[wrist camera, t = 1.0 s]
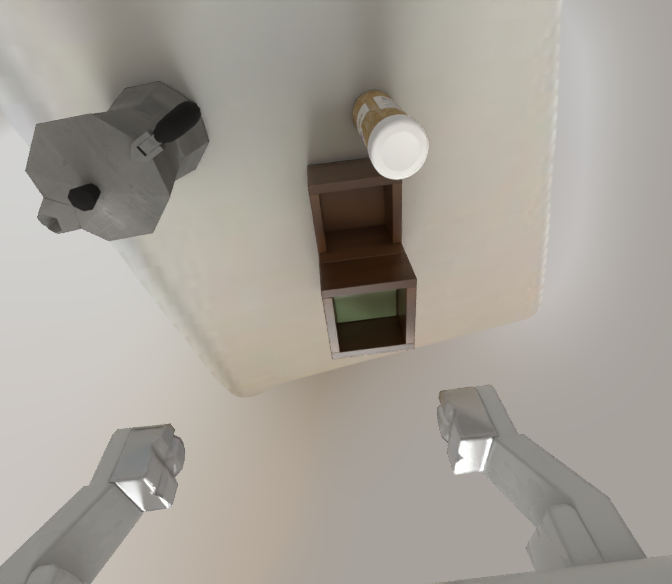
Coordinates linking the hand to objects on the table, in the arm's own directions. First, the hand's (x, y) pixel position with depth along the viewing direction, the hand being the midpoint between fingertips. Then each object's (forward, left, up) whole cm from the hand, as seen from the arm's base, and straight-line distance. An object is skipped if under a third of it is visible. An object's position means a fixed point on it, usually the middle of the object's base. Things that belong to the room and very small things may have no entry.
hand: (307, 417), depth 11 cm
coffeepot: (-2, -14, -35) cm, 38 cm away
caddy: (+13, +4, -35) cm, 38 cm away
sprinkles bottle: (-1, +7, -35) cm, 36 cm away
